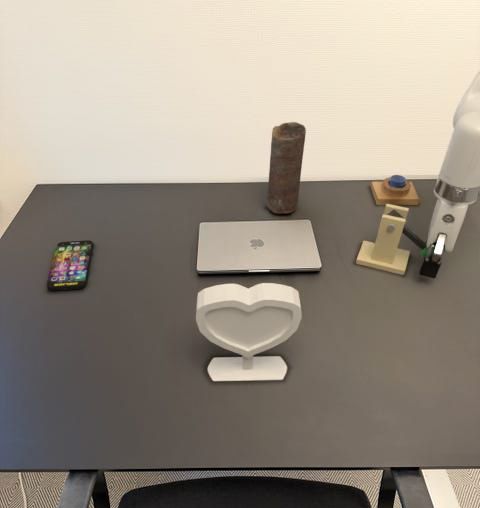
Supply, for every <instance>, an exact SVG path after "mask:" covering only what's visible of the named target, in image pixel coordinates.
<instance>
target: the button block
mask: <svg viewBox="0 0 480 508" xmlns="http://www.w3.org/2000/svg"><path fill="white" fill-rule="evenodd" d="M390 178H391V176H389V177H386V178H384V179H383V181H371V184H370V190H371V193H372V196H373V198H374V201H375V204H376V206H386V204H391V205H396V206H418V205H419V202H420V197H419V195H418V193H417V191H416V189H415V186H414V184H413V182H412V181H409V180H408V179H406V181H405V185H404V187H403V188H394V187H391V186H390V185H389V182H390Z"/></svg>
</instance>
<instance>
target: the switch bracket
mask: <svg viewBox="0 0 480 508" xmlns="http://www.w3.org/2000/svg"><path fill="white" fill-rule="evenodd" d="M384 207H385V208H384V211H383V214H382V216H381V219H380V224H379V226H378V231H377V234H376V239H375V242H373V241H367V240H363V241H362V244H361V246H360V249H359V252H358V254H357V257H356V260H355V264H356V265H360V266H363V267H364V266H365V267H368V268H372V269H377V270H380V271H384V272H389V273H392V274H396V275H401V276H404V275H405V273H406V269H407V265H408V261H409V257H410V253H411V251H410V250H406V249H403V248H399V243H400V242H401V241H400V240H401V237H402V235H403V233H402V231H403V228H404V225H405V224H406V221H407V216H408V213H409V210H410V207H405V206H401V205H391V204H386V205H385V206H384ZM393 209H394V210H395V211H396V212H398V213H399V214H400V215H401V216H402V217H403V218H404V219H403V218H399V217H394V216H389V215H387V214H389V213H390V212H391V211H392V210H393Z"/></svg>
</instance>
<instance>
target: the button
mask: <svg viewBox="0 0 480 508" xmlns="http://www.w3.org/2000/svg"><path fill="white" fill-rule="evenodd" d="M390 177H391V178H390V182H389V185H390V186H391V187H394V188H403V187H404V185H405V181H406V180H407V179H406V177H405V176H403V175H401V174H393V175H391V176H390Z"/></svg>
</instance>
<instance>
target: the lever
mask: <svg viewBox="0 0 480 508" xmlns="http://www.w3.org/2000/svg"><path fill="white" fill-rule="evenodd" d="M387 215H389V216H394V217H399V218H403V217H402V216H401V215H400V214H399V213H398V212H396V211H395V210H394V209H393V210H392V211H391V212H390V213H389V214H387ZM403 219H404V218H403ZM402 235H404V236H405V237H406V238H408V240H410V241H411V242H412V243H413V244H415V245H416V246H417V247H418V248H419V249H420V255H421V257H422V258H423V259H424V258H426V256H427V253H428V250H429V248H428V247H427V244H426V242H424V240H422V238H421V237H419V236H418V235H417V234H415V233H414V232H413V231H412V230H411V229H410V228H408V226H406V225H405V224H404V228H403V231H402ZM433 245H434V244H433ZM434 246H435V245H434ZM434 250H435V249H432V251H431V254H432V255H433V252H434ZM431 254H430V255H431Z"/></svg>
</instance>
